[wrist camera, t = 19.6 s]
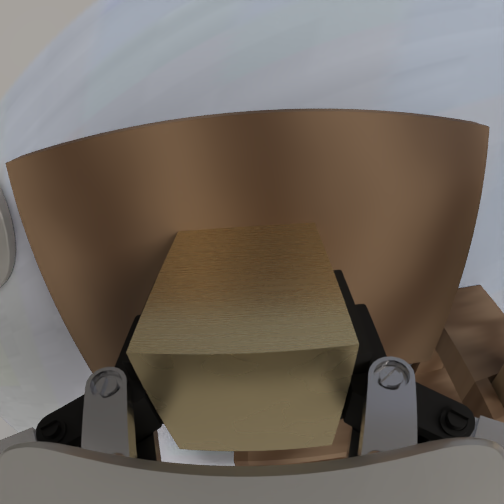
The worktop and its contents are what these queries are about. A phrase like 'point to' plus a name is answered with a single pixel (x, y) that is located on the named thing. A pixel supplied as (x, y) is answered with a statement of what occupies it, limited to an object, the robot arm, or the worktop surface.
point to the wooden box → (432, 375)
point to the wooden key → (499, 385)
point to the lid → (254, 256)
